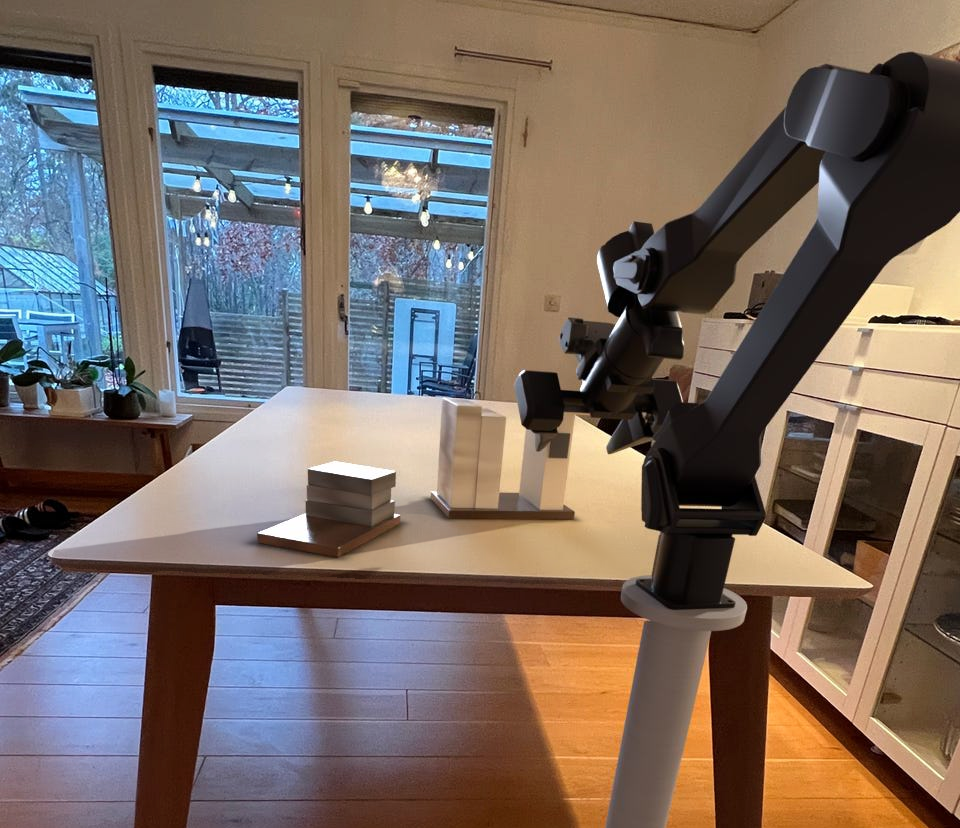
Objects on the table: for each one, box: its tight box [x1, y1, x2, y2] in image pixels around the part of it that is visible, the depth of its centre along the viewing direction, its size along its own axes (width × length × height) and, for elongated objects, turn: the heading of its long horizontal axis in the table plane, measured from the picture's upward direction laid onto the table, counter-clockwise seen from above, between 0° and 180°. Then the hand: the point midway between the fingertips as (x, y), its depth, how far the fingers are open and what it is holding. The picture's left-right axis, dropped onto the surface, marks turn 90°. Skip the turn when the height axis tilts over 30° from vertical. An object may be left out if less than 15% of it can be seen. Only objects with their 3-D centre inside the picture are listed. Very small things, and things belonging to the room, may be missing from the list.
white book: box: [518, 414, 576, 510], centre depth 92 cm, size 8×3×12 cm, turn 16°
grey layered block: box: [256, 461, 401, 558], centre depth 76 cm, size 9×15×6 cm, turn 162°
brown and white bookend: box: [430, 397, 576, 520], centre depth 91 cm, size 10×16×13 cm, turn 106°
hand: (573, 449), depth 85 cm, fingers open, 9 cm apart
